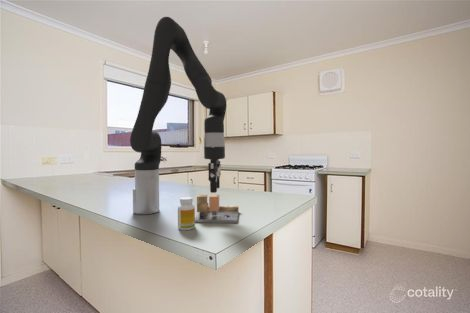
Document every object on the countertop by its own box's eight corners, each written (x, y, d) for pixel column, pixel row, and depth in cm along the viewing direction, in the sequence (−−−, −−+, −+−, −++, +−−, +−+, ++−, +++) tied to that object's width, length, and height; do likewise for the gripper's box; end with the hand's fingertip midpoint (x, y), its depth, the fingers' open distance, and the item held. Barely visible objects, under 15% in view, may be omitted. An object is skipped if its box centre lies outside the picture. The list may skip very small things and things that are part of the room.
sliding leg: (209, 216, 84) (209, 196, 84) (210, 213, 88) (210, 194, 87) (218, 216, 84) (218, 196, 84) (219, 213, 88) (219, 194, 87)
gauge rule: (195, 219, 85) (195, 196, 84) (201, 211, 96) (201, 190, 95) (237, 220, 84) (237, 197, 83) (238, 212, 95) (238, 191, 94)
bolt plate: (194, 222, 82) (194, 219, 82) (200, 213, 93) (200, 210, 93) (237, 223, 81) (237, 220, 81) (238, 214, 92) (238, 211, 92)
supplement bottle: (198, 227, 77) (198, 197, 76) (184, 231, 73) (184, 200, 72) (188, 223, 80) (188, 195, 80) (174, 227, 76) (174, 198, 76)
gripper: (207, 146, 92) (208, 187, 93) (200, 145, 78) (201, 194, 79) (226, 145, 92) (227, 187, 92) (222, 145, 78) (223, 194, 78)
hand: (215, 190), depth 86 cm, fingers open, 8 cm apart
